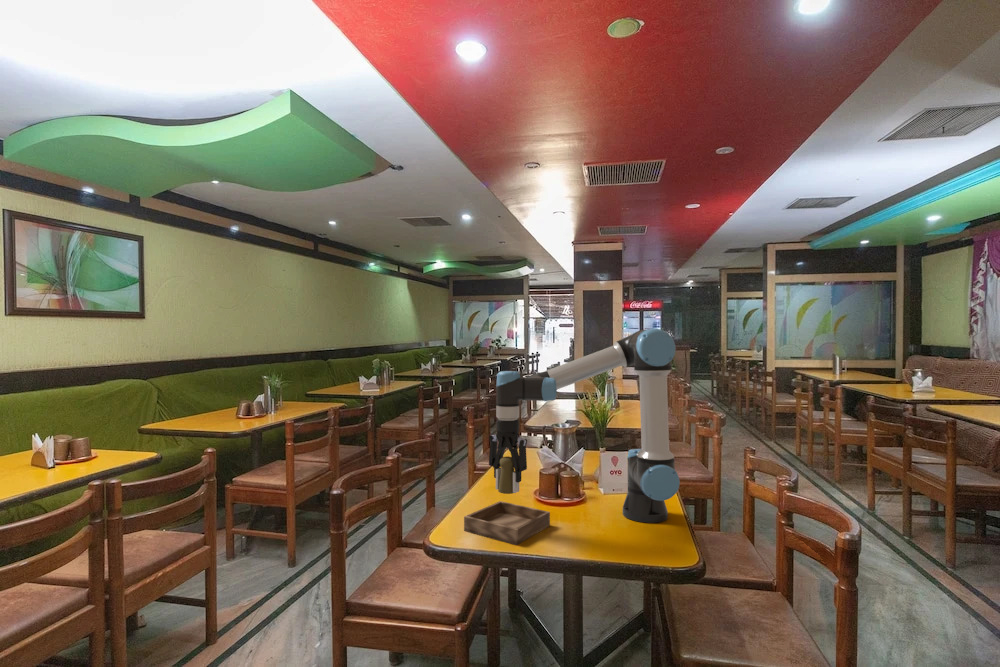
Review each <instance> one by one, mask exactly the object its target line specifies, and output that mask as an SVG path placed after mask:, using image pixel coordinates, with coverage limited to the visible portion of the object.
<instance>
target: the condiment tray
mask: <svg viewBox="0 0 1000 667" xmlns="http://www.w3.org/2000/svg"><path fill="white" fill-rule="evenodd" d="M550 526H551V512H550V511H546V510H542V509H538V508H535V507H529V506H524V505H520V504H516V503H511V502H506V501H501V500H500V501H498V502H494V503H492V504H490V505H488V506H486V507H483V508H481V509H479V510H477V511H473V512H471V513H470V514H467V515H465V516H464V517H463V531H464V532H468V533H470V534H474V535H478V536H481V537H485V538H488V539H491V540H496V541H498V542H499V541H500V542H503V543H507V544H509V545H510V544H511V545H514V546H517V545H520V544H521V543H523V542H525V541H526V540H528V539H530V538H531V537H533V536H535V535H536V534H538V533H540V532H541V531H544V530H545V529H547V528H548V527H550Z"/></svg>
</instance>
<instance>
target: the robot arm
mask: <svg viewBox="0 0 1000 667" xmlns="http://www.w3.org/2000/svg"><path fill="white" fill-rule="evenodd" d="M674 340H675V339H673V337H672V336H671V335H670V334H669V333H668V332H666V331H665V330H662V329H659V328H647V329H640V330H638V331H635V332H633V333H632V334H630V335H628V336H626V337H624V338H621V339H619V340H617V341H615V342H614V343H613V345H611V346H608V347H606V348H603V349H601V350H598V351H595V352H592V353H590V354H588V355H584V356H582V357H579V358H577V359H574V360H570V361H569V362H566V363H563V364H560V365H558V366H555V367H552V368H550V369H547V370H545V371H542V372H540V373H537V374H536V373H535V374H531V375H529V377H522V376H521V375H520V372H519V371H514V370H503V371H502V370H501V371H499V372H498V373H497V374H496V385H495V386H496V388H495V390H496V392H495V393H496V396H495V397H496V409H495V410H496V412H495V413H496V416H495V417H496V418H497V419H496V422H495V423H496V424H495V426H496V427H495V428H496V429H495V430H496V434H491V435H489V436H488V439H489V455H488V456H489V457H488V465H489V466H490V467H493V478H494V479H495V490H498V489H499V481H500V474H501V466H500V459H501V458H502V457H504V454H505V450H506V449H508V451H509V452H510V457H512V461H513V465H514V472H513V493H512V494H516V493H518V492H519V493H520V483H521V482H522V472H524V471H526V470H527V469H528V464H527V463H528V462H527V443H528V439H526V438H525V439H524V438H521V437H520V433H519V431H520V419H519V418H520V401H536V402H537V401H538V402H539V401H540V402H551V401H555V400H556V399H557V394H558V393H557V391H558V390H560V389H562V388H565V387H568V386H570V385H573V384H576V383H579V382H581V381H584V380H587V379H590V378H592V377H595V376H598V375H600V374H603V373H605V372H609V371H611V370H613V369H617V368H620V367H624V368H627V367H630V366H634V367H633V368H634V372H635V373H636V374H637V375H638V376H639V377H638V378H639V381H638V382H639V405H640V406H639V407H640V408H639V409H640V410H639V411H640V436H641V437H640V438H641V439H640V440H641V441H640V446H641V448H632V449H629V450H628V452H627V458H626V460H627V493H626V496H625V499H624V501H623V502H624V503H623V505H622V515H623V517H625V518H627V519H628V520H631V521H635V522H640V523H648V524H649V523H650V524H651V523H653V524H655V523H662V522H665V521H666V520H668V518H669V517H668V516H669V513H668V512H669V511H668V509H667V505H666V503H665V501H667V500H669V499H671V498H673V497H674V496H675V495H676V494H677V493H678V491H679V489H680V484H681V483H680V477H679V475H678V472H677V471H676V469H675V468H676V466H675V463H676V462H675V454H674V453H672V452H671V451H670V432H669V430H670V429H669V427H670V426H669V404H668V403H669V402H668V401H669V400H668V376H669V374H670V373H671V372H672V360H673V358H674V356H675V355H676V350H677V349H676V348H677V347H676V343H675V341H674Z"/></svg>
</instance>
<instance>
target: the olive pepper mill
mask: <svg viewBox="0 0 1000 667" xmlns="http://www.w3.org/2000/svg"><path fill="white" fill-rule="evenodd" d="M500 466H501V467H500V468H501V474H500V481H499V489H498V491H497V492H498V493H500V494H502V495H503V494H504V495H505V494H506V495H510V494H514V493H513V472H514V471H515V469H514V465H513V461H512V456H503V457H502V458H501V459H500Z"/></svg>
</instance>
